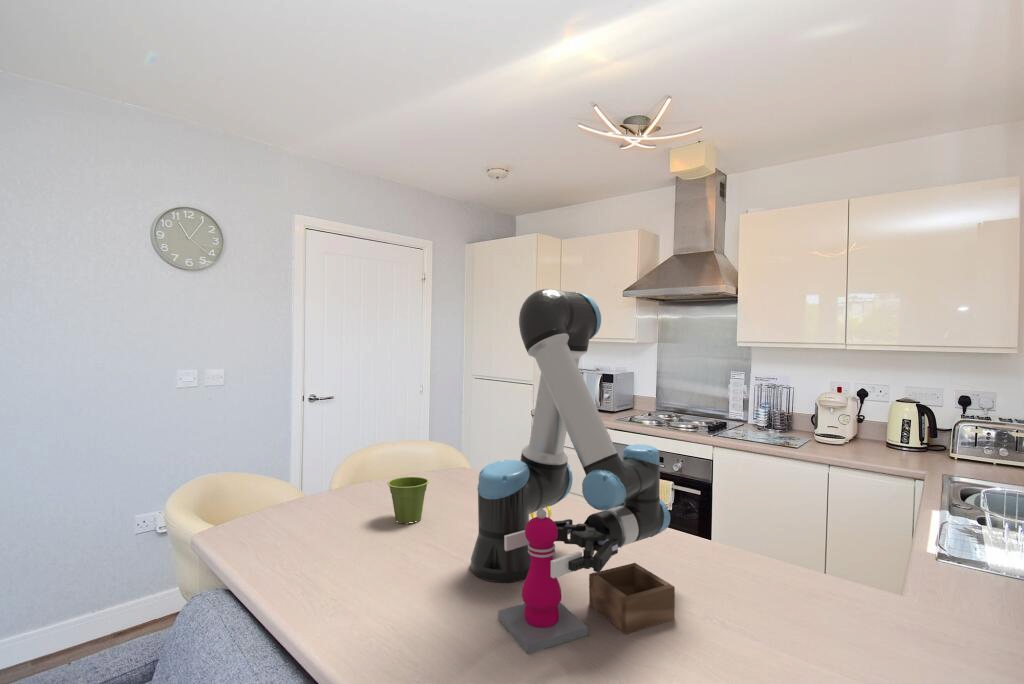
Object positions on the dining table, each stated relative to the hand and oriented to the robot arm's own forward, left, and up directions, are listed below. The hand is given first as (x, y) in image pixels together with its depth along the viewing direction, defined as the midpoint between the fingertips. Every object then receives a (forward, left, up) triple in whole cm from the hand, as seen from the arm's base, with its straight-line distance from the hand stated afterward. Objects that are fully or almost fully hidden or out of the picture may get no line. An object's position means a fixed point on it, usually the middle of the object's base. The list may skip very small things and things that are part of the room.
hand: (527, 555), depth 91 cm
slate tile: (-1, +3, -14) cm, 14 cm away
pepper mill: (-1, +3, -12) cm, 13 cm away
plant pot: (-66, -5, -14) cm, 67 cm away
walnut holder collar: (+2, +21, -14) cm, 25 cm away
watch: (-48, +29, -14) cm, 58 cm away
